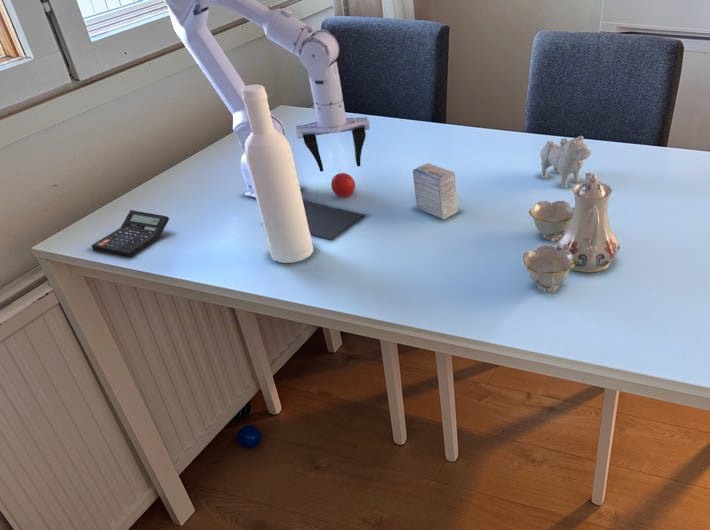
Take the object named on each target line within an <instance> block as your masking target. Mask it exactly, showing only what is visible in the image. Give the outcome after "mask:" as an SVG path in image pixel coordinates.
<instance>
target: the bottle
mask: <svg viewBox="0 0 710 530" xmlns="http://www.w3.org/2000/svg"><path fill="white" fill-rule="evenodd" d="M241 91H242V99H243V101H244V103H245V107H246V111H247V115H248V119H249V122H250V126H251V130H252V133H251V134H250V136H249V137H248V138H247V140H246V142H245V158H246V162H247V166H248V170H249V174H250V177H251V181H252V185H253V189H254V192H255V196H256V198H255V200H256V203H257V207H258V210H259V211H258V212H259V214H260V218H261V222H262V226H263V230H264V233H265V237H266V243H267V248H268V251H269V252H270V256H271V258H272V259H273V261H275V262H278V263H282V264H292V263H299V262H301V261H304V260H305V259H307V258H308V257H310V256H311V255H312V254H313V252H314V246H313V239H312V235H310V232H309V228H308V223H307V218H306V214H305V209H304V205H303V200H304V199H303V196H302V191H301V189H300V187H299V186H300V181H299V178H298V174H297V168H296V164H295V160H294V155H293V150H292V146H291V145H290V142H289V141H288V139H287V138H286V135H285V136H284V135H282V134H281V133H279V132H278V131H276V130H275V129H274V127H273V123H272V118H271V114H270V112H271V110H270V106H269V102H268V99H269V98H268V94H267V92H266V87H265V86H263V85H262V84H248V85H245V87H243V89H242V90H241Z"/></svg>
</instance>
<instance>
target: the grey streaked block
mask: <svg viewBox="0 0 710 530" xmlns="http://www.w3.org/2000/svg"><path fill="white" fill-rule="evenodd" d="M412 178H413V186H414V194H415V203H416V209H417V210H419V211H421V212H424V213H427V214H429V215H432V216H434V217H436V218H439V219H442V220H445V219H448V218H449V217H451V216H453V215H455V214H457V213H459V209H458V196H457V195H458V194H457V181H456V173H455V172H454V171H451V170H449V169H446V168H443V167H441V166H437V165H434V164H431V163H429V162H427V163H425V164H423V165H420V166H418V167H416V168H414V169H413V170H412Z"/></svg>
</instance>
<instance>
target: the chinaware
mask: <svg viewBox="0 0 710 530" xmlns="http://www.w3.org/2000/svg"><path fill="white" fill-rule="evenodd" d="M584 178H585V179H584V182H581V183H576V185H575V186H572V187H573V188H572V190H571V191H572V193H573V195H574V207H572V206H571V205H570V204H569V203H568V202H567V201H565V200H557V201H553V202H550V201H547V200H542V201H541V200H540V201H538V202H537V203H535V205H534V206H533V207H532V208H530V209H529V210H528V214H529V215H530V216H531V217H532V218H533V221H534V225H535V227H536V229H537V230H538V231H539V232H540V233H541V234H542V236H543V239H544V240H547V241H552V242H554V241H558V242H557V244H556V247H554V246H552V245H543V246H542V245H541V246H539V247H537V248H536V249H535V250H527V251H526V252H525V253H523V264H524V267H525V268H526V269H527V272H528V275H529V278H531V280H532V281H533V282H534V283H535V284H537V286H536V287H537V288H538V289H539V290H540V291H541V292H547V293H550V295H551V296H553V295H554V294H555V292H556V290H557V289H558V288H559V286H560V284H562V283H563V282H564V281H565V280H566V279H567V277H568V275H569V273H570V271H573V272H576V273H581V274H598V273H601V272H603V271H606V270H607V269H608V268H610V266H611V263H612V262H613V260H614V259H615V257H616V254H617V253H618V252H619V250H620V248H621V245H620V242H619V239H618V238H617V236H616V235H615V232H614V231H613V229H612V228H611V224H610V220H609V213H608V206H609V200H610V196H611V195H612V193H613V189H612V188H611V186H609V185H607V184H606V183H602V182H601V181H600V180H598V179H599V178H598V176H596V173H592V172H587V173H585V175H584Z"/></svg>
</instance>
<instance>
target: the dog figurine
mask: <svg viewBox="0 0 710 530" xmlns="http://www.w3.org/2000/svg"><path fill="white" fill-rule="evenodd" d="M591 154H592V151H591V150H590V149H589V148H588V146H587V144H586V143H585V142H584V136H583V135H579V136H577V137H573V138H572V139H570V140H568V139H567V138H565V137H563V138H561V139H560V141H559V144H558V143H555V142H554V141H551V140H548V141H546V143H545V144H544V146H543V148H542V149H541V150H540V152H539V156H540V160H541V163H540V166H541V178H542V179H548V178H549V176H548V174H547V170H548V168H550V167H552V168H553V173H554V174H560V178H561V179H560V181H561V182H560V187H561V188H563V189H566V188H568V187H569V185H568V181H569V178H570V175H571V174H572V181H573V183H575V184H580V182H581V180H580V176H579V175H580V170H581V169H582V167H583V165H584V160H587V159H588V158H589V157H590V156H591Z"/></svg>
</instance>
